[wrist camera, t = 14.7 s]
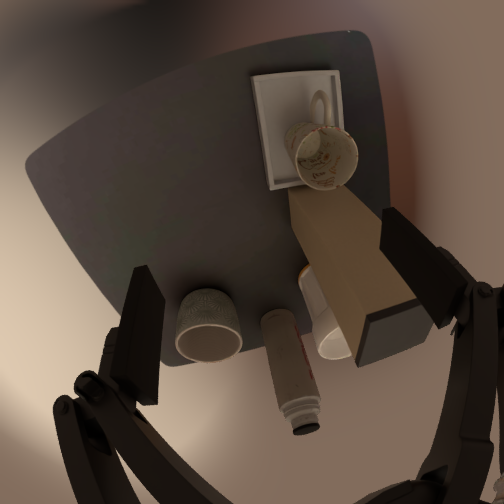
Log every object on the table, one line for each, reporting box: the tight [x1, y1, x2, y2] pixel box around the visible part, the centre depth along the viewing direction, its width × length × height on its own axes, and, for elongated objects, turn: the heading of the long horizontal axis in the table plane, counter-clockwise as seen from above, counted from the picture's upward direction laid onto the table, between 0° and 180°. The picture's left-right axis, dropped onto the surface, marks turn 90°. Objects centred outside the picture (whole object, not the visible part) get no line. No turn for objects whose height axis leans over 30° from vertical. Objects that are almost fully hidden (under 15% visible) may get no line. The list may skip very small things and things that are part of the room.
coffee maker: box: [250, 70, 434, 368], centre depth 30 cm, size 27×13×29 cm, turn 9°
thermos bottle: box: [260, 309, 321, 435], centre depth 52 cm, size 8×8×28 cm
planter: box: [175, 288, 242, 363], centre depth 53 cm, size 12×12×11 cm
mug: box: [284, 90, 358, 190], centre depth 34 cm, size 8×13×10 cm, turn 0°
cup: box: [298, 263, 352, 359], centre depth 50 cm, size 11×11×17 cm
